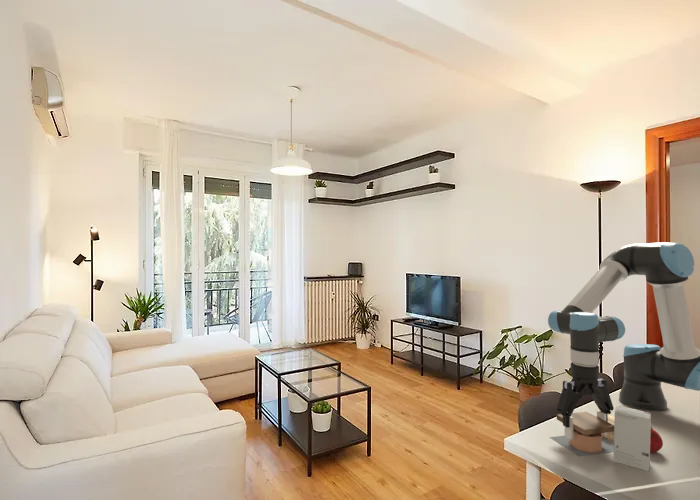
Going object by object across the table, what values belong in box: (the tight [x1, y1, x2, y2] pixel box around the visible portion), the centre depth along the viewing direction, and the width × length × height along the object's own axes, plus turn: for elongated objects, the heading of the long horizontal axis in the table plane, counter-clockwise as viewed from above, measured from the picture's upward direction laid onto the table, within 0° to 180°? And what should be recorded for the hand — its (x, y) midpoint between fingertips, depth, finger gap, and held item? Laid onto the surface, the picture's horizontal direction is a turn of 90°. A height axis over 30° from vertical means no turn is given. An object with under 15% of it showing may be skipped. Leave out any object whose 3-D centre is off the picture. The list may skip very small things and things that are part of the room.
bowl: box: [570, 429, 603, 453], centre depth 118 cm, size 8×8×4 cm
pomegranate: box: [650, 425, 664, 454], centre depth 115 cm, size 6×6×8 cm
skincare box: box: [612, 405, 652, 472], centre depth 109 cm, size 8×6×15 cm
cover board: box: [556, 411, 614, 435], centre depth 119 cm, size 11×11×2 cm
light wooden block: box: [595, 414, 615, 441], centre depth 126 cm, size 7×7×5 cm
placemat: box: [549, 435, 614, 457], centre depth 120 cm, size 16×12×1 cm
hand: (585, 435), depth 118 cm, fingers open, 11 cm apart
